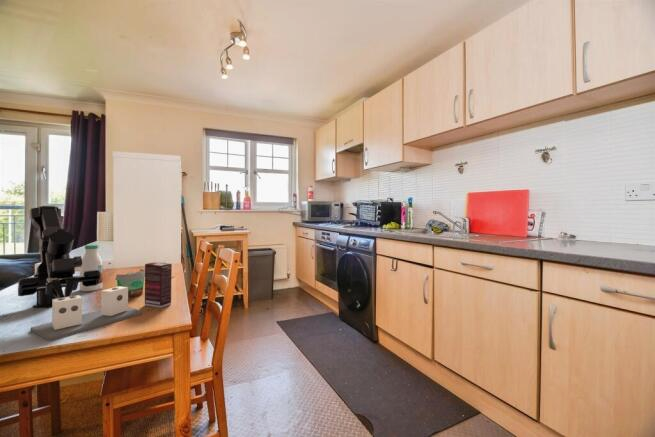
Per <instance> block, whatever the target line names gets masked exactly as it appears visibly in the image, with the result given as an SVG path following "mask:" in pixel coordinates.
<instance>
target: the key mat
mask: <svg viewBox="0 0 655 437" xmlns="http://www.w3.org/2000/svg"><path fill="white" fill-rule="evenodd" d="M142 314H143V311H142V310H140V309H137V308H133V307H130V306H128V310H127V311H124V312H121V313H118V314H115V315H112V316H106V315H101V309H99V310H95V311H91V312H88V313H84V314H83V313H82V324H79V325H75V326H70V327H66V328H61V329H57V330H54V328H53V327H52V321H50V322H47V323H43V324H40V325H34V326H31V327H30V332H32V333H34V334H36V335H38V336H39V337H41V338H43V339H44V340H46V341H48V342H51V341H52V342H53V341H55V340H58V339H62V338H64V337H68V336H71V335H75V334H78V333H82V332H86V331H89V330H93V329H96V328H98V327H102V326H106V325H109V324H112V323H116V322H119V321H123V320H126V319H130V318H133V317H136V316H140V315H142Z"/></svg>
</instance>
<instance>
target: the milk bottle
mask: <svg viewBox="0 0 655 437" xmlns="http://www.w3.org/2000/svg"><path fill="white" fill-rule="evenodd" d="M98 250H99V245H98V244H86V245H84V251H85V252H84V255H83V257H82V266H81V267H79V276H82V275H84V271H91V270H98V271H100V274H101V277H100V280H99V283H98V284H97V285H95V286H88V287H86V286H83V284H82V282H79V290H80V291H81V292H93V291H99V290H101V289H102V288H103V268H104V267H103V261H102V257H101V256H100V254H99V251H98Z"/></svg>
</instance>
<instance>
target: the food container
mask: <svg viewBox="0 0 655 437" xmlns="http://www.w3.org/2000/svg"><path fill="white" fill-rule="evenodd" d="M115 281H116V282H117V283H116V284H117V285H116V287H118V286H122V287H128V299H133V298H138V297H140V296H143V294H144V286H145V269H140V270H139V271H136V272H129V273H128V272H127V273H125V274H116V276H115Z"/></svg>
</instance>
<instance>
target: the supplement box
mask: <svg viewBox="0 0 655 437" xmlns="http://www.w3.org/2000/svg"><path fill="white" fill-rule="evenodd" d="M172 266H173V265H172V263H165V262H156V261H155V262H150V263H145V264H144V270H145V277H144V306H147V307H152V308H153V307H154V308H158V309H160V308H161V309H162V308H165V307H168V306H171V305H172Z"/></svg>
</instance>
